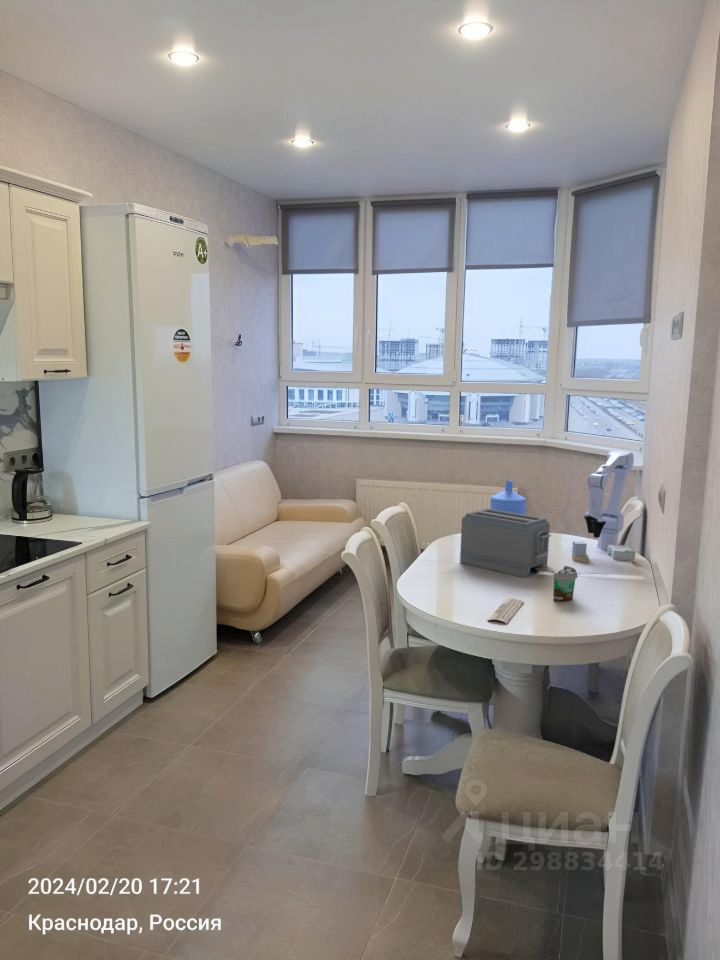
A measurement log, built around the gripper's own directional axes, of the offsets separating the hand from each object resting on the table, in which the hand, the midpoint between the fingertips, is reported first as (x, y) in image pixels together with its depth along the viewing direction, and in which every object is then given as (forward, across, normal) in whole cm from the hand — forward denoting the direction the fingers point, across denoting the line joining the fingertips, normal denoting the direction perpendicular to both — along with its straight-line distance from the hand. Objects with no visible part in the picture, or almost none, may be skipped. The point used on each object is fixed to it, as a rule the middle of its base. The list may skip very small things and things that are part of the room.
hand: (593, 535), depth 301 cm
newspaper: (+10, +69, -50) cm, 86 cm away
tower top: (+9, +6, -7) cm, 13 cm away
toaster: (+10, +15, -38) cm, 42 cm away
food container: (+10, +55, -26) cm, 61 cm away
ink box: (+8, +5, +11) cm, 15 cm away
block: (+7, +5, -7) cm, 11 cm away
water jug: (+10, -25, -31) cm, 41 cm away
